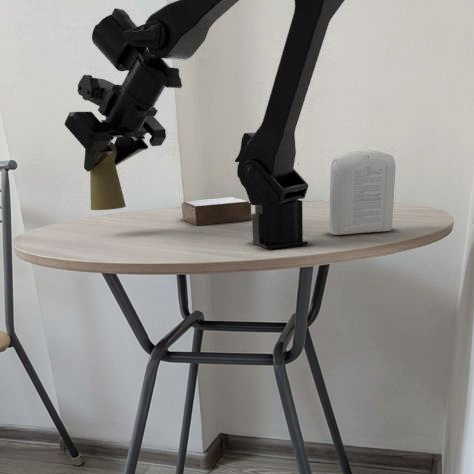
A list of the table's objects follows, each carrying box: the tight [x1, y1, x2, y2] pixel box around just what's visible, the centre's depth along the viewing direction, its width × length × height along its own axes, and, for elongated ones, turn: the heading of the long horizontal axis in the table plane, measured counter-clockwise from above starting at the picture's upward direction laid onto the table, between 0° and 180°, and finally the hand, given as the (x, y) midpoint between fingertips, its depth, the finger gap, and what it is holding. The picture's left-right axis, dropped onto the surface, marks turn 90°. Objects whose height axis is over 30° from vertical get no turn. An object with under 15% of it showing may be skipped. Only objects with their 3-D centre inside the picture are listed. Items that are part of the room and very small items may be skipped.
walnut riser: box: [181, 196, 252, 226], centre depth 114 cm, size 11×10×4 cm
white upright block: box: [329, 150, 396, 236], centre depth 91 cm, size 10×4×12 cm, turn 104°
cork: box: [89, 141, 127, 211], centre depth 99 cm, size 6×6×11 cm
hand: (97, 168), depth 100 cm, fingers closed on cork, 5 cm apart
